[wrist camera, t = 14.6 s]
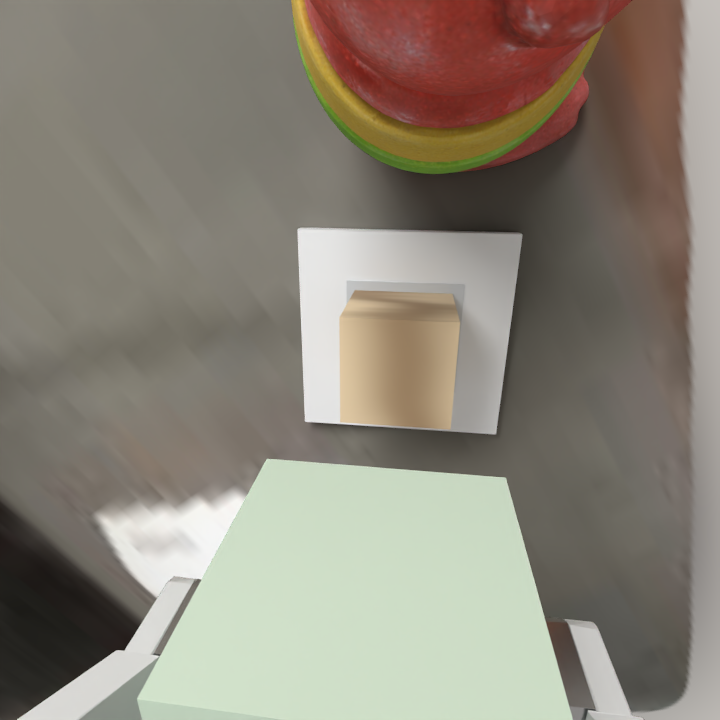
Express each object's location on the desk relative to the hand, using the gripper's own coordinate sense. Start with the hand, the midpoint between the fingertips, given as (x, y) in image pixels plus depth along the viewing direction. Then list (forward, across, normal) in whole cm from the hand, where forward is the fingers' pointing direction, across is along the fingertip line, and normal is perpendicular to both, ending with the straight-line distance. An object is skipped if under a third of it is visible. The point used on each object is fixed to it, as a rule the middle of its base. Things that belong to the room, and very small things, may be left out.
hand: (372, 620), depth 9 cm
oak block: (+17, 0, 0) cm, 17 cm away
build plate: (+18, 0, 0) cm, 18 cm away
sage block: (+2, 0, 0) cm, 2 cm away
